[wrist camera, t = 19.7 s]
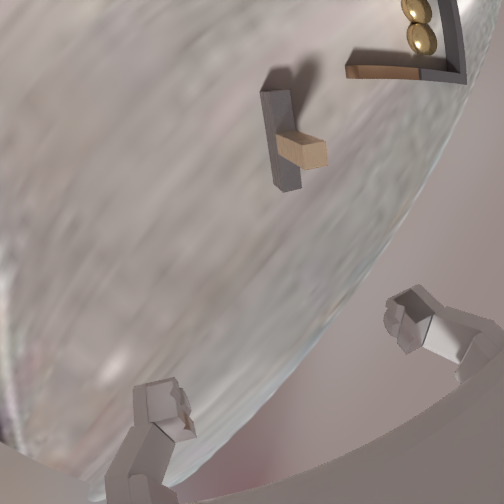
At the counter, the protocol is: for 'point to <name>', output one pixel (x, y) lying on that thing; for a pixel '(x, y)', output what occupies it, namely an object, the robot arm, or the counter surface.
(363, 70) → the walnut slot rails
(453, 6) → the grey angled bracket
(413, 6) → the brass chip
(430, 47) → the brass chip
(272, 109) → the grey post with peg
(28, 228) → the counter surface
